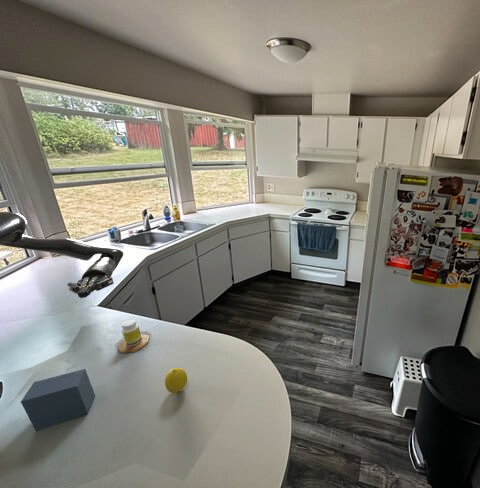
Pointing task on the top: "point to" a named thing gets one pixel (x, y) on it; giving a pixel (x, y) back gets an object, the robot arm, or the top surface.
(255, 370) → the top surface
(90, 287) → the robot arm
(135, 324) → the supplement bottle
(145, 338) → the coaster
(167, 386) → the lemon
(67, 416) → the dark gray rectangular block
